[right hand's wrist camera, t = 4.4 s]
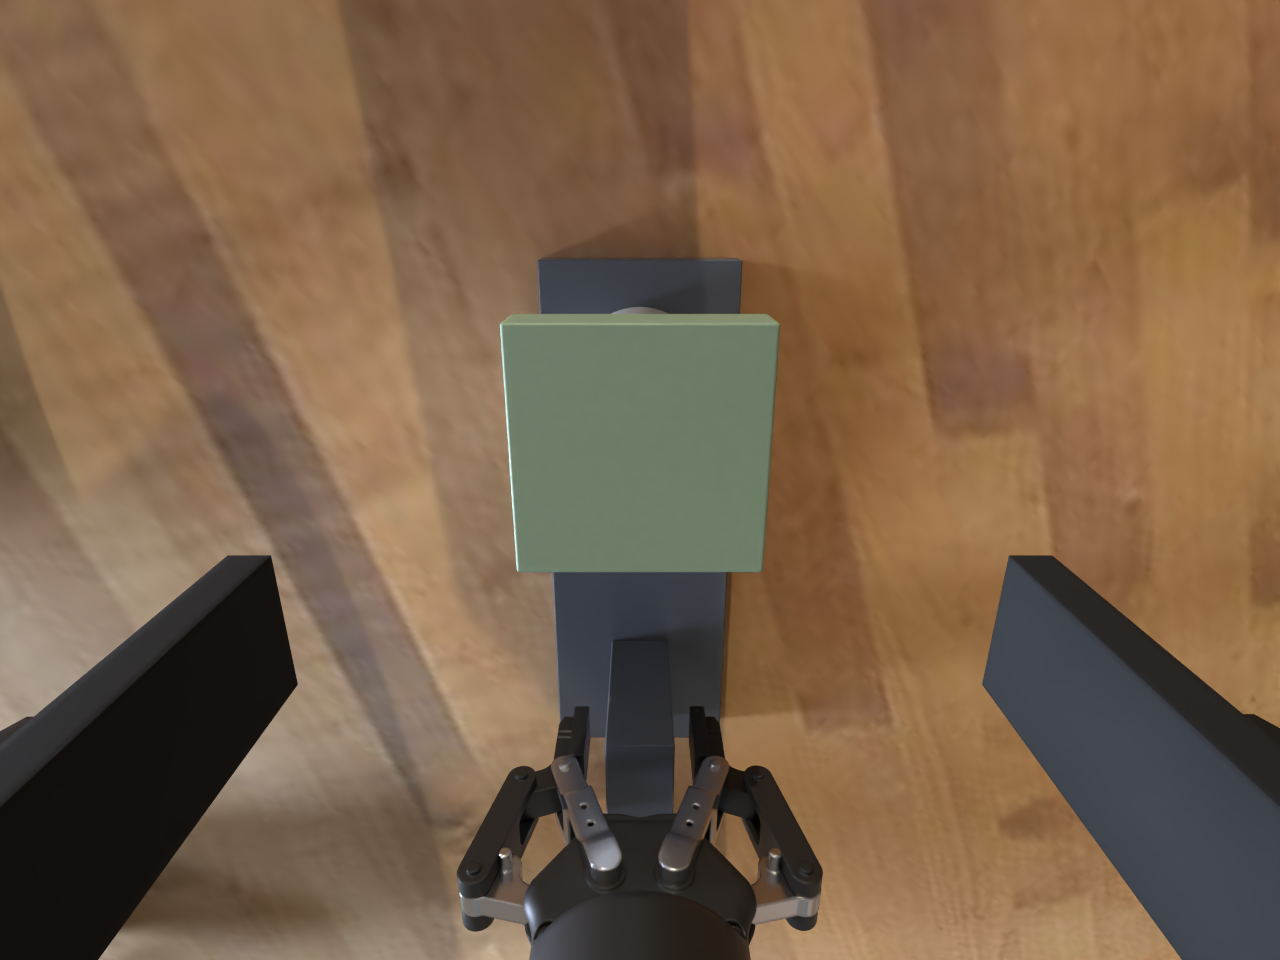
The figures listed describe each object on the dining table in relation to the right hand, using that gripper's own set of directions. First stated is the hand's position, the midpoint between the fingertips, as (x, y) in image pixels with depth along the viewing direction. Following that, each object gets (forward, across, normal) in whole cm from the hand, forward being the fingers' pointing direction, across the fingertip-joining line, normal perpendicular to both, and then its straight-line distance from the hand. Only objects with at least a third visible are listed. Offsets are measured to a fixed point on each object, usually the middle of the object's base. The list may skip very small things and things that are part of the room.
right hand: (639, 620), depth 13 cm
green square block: (+13, 0, 0) cm, 13 cm away
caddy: (+23, 0, -8) cm, 24 cm away
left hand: (+18, 0, -17) cm, 25 cm away
